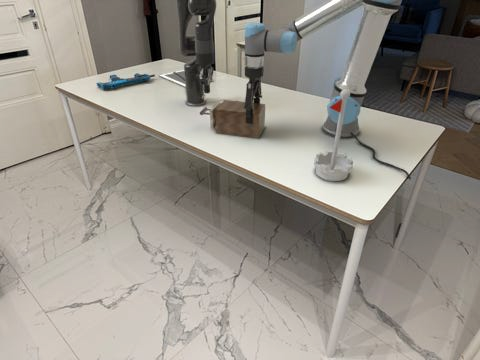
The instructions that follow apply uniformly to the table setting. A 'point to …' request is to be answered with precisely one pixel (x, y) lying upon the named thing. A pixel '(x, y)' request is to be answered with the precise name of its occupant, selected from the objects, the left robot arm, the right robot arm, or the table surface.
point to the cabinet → (239, 119)
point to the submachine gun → (124, 81)
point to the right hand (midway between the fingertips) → (253, 117)
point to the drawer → (211, 115)
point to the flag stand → (335, 150)
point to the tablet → (175, 77)
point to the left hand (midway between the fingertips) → (207, 92)
